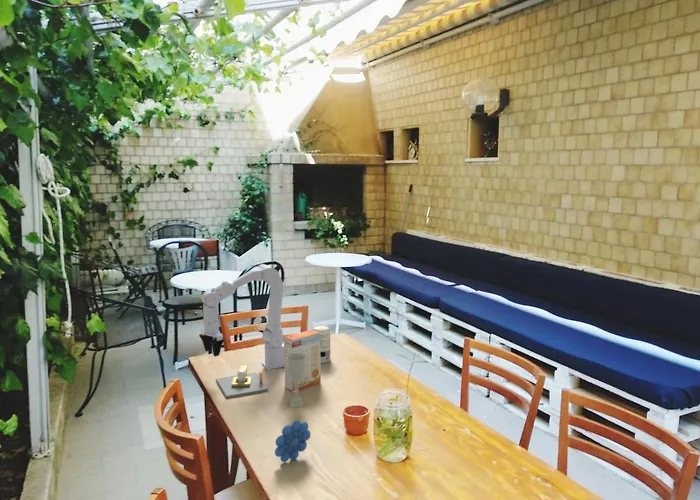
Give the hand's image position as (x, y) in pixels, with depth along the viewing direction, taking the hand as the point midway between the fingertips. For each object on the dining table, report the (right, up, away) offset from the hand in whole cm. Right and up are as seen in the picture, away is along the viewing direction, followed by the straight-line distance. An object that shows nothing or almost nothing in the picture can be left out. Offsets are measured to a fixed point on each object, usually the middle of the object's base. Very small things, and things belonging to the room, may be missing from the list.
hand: (212, 353), depth 220 cm
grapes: (+38, -20, -59) cm, 73 cm away
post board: (+13, -11, -7) cm, 19 cm away
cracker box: (+37, -12, -6) cm, 39 cm away
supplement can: (+43, -7, +21) cm, 48 cm away
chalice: (+36, -14, -23) cm, 45 cm away
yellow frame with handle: (+13, -10, -5) cm, 17 cm away
